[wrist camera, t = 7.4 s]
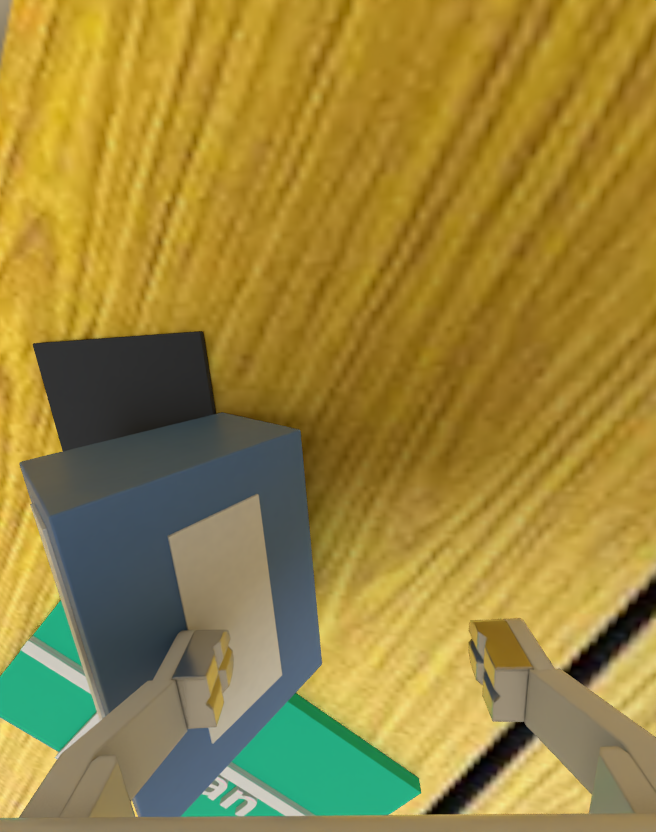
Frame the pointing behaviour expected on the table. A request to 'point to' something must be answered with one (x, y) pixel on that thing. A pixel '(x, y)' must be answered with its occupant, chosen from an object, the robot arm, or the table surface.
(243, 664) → the chalk box
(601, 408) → the table surface
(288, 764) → the sign
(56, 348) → the mat
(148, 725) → the robot arm
